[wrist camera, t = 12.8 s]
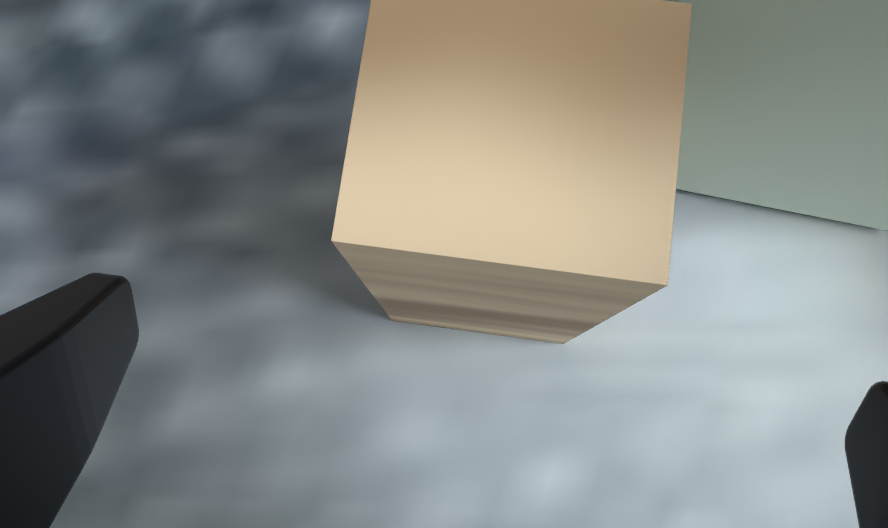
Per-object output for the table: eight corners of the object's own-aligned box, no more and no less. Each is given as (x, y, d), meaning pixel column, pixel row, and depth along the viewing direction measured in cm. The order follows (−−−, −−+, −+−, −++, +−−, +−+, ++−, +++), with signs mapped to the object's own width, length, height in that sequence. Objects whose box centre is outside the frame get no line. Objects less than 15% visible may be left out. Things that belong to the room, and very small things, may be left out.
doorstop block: (563, 343, 22) (667, 285, 11) (391, 320, 22) (331, 240, 11) (580, 193, 23) (691, 3, 12) (414, 172, 23) (376, -34, 12)
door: (492, 152, 23) (532, -126, 11) (511, 59, 23) (570, -304, 11) (903, 233, 22) (1427, 34, 10) (914, 136, 22) (1424, -163, 11)
